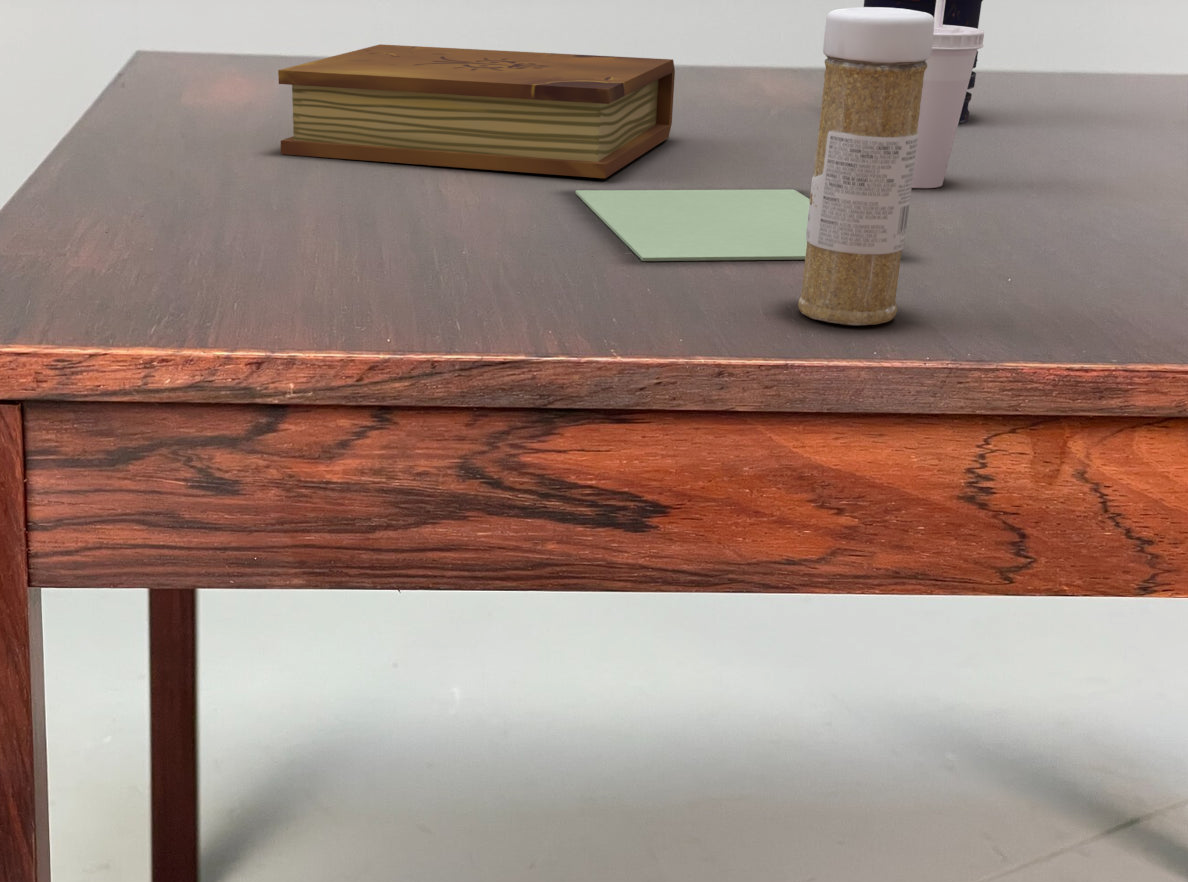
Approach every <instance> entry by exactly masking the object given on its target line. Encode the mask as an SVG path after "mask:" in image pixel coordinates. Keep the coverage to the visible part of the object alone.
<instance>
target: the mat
mask: <svg viewBox="0 0 1188 882" xmlns="http://www.w3.org/2000/svg"><path fill="white" fill-rule="evenodd" d="M575 195H576V196H577V197H578V198H579V199H580V200H581V201H582V202H583V203H584V204H585V205H586V206H587V207H588V208H590V210H591V211H592V212H593V213H594V214H595V215H596V216H597V218H599V219H600V220H601V221H602V222H603V223H604V224H605V225H606V226H607V227H608V228H609V229H610V230H611V231H612V232H613V233H614V234H615V235H616V236H617V237H618V238H619V239H620V240H621V241H622V242H623V243H624V244H625V245H626V246H627V247H628V248H629V249H630V250H631V251H632V252H633V253H634V254H635V256H637V257H638V258H639V259H640V260H641V262H693V261H694V262H695V261H699V262H700V261H705V262H706V261H707V262H708V261H709V262H710V261H797V260H798V261H800V260H801V261H802V260H803V261H805V257H806V248H807V240H806V231H807V222H808V213H809V203H810V197H809V198H808V197H807V196H806V195H804V194H802V193H800V192H799V191H797V190H796V189H599V190H597V189H591V190H590V189H589V190H588V189H585V190H583V189H581V190H579V189H577V190H575Z"/></svg>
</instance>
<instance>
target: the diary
mask: <svg viewBox="0 0 1188 882" xmlns="http://www.w3.org/2000/svg"><path fill="white" fill-rule="evenodd" d="M277 74H278V85H288V86H289V85H290V86H291V95H292V97H291V98H292V125H293V126H292V130H293V133H292V134H293V136H289V137H287V138H284V139H280V154H281V155H286V156H287V155H289V156H302V157H315V158H316V157H317V158H327V159H328V158H329V159H340V160H354V161H356V160H357V161H367V162H369V161H370V162H383V163H397V164H410V165H423V166H435V167H447V168H449V167H450V168H463V169H474V170H487V171H489V170H490V171H501V172H515V173H527V174H528V173H529V174H541V175H542V174H543V175H555V176H569V177H583V178H594V179H595V178H596V179H607V178H608V177H610V176H611V175H613V174H614V173H617V172H618V171H619V170H621V169H623V168H624V167H625V166H627V165H629V164H630V163H632V162H633V161H635V160H636V159H638V158H640V157H641V156H642V155H644V154H646V153H647V152H648V151H650V150H652V149H653V148H654V147H656V146H657V145H659V144H661V143H662V142H664V141H665V140H667V139H669V137H670V133H671V129H672V125H673V112H674V111H673V109H674V96H675V95H674V92H675V78H676V77H675V76H676V75H675V74H676V70H675V62H674V59H671V58H670V59H669V58H653V57H652V58H650V57H636V56H635V57H631V56H616V55H597V54H595V55H594V54H576V53H573V54H572V53H555V52H534V51H518V50H517V51H515V50H497V49H479V48H477V49H476V48H456V47H441V46H440V47H436V46H421V45H420V46H417V45H402V44H401V45H400V44H399V45H398V44H382V43H381V44H376V45H372V46H368V47H364V48H360V49H356V50H352V51H348V52H344V53H340V54H336V55H333V56H328V57H324V58H321V59H320V58H319V59H315V60H313V61H308V62H304V63H301V64H297V65H293V66H288V67H284V68H281V69H278V70H277Z"/></svg>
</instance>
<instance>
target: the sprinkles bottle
mask: <svg viewBox="0 0 1188 882" xmlns="http://www.w3.org/2000/svg"><path fill="white" fill-rule="evenodd" d="M933 34H934V17H933V16H932V15H931V14H929V13H926V12H921V11H914V10H909V9H899V8H885V7H864V6H858V7H857V6H856V7H844V8H838V9H837V8H836V9H833V10H831V11H829V12H828V14H827V16H826V21H825V28H824V37H823V45H822V46H823V47H822V53H823V54H824V56H825V57H826V58H825V59H824V65H825V71H824V75H823V76H824V77H823V79H824V80H823V89H822V97H821V98H822V99H821V103H820V104H821V106H820V107H821V108H820V115H819V124H818V130H817V131H818V134H817V141H816V142H817V143H816V150H815V156H814V167H813V175H812V178H811V185H810V194H809V199H810V203H809V213H808V222H807V231H806V240H807V248H806V257H805V260H804V268H803V276H802V277H803V279H802V285H801V294H800V296H799V297H798V302H797V304H798V305H797V306H798V309H799V311H800V312H801V314H803V315H805V316H806V317H808V318H810V319H812V320H817V321H821V322H825V323H830V324H838V325H843V326H854V327H855V326H856V327H858V326H859V327H860V326H877V325H880V324H884V323H888V322H890V321H892V320H893V319H894V318H895V317H896V315H897V313H898V304H897V302H896V299H897V289H898V284H899V283H898V282H899V281H898V280H899V275H900V266H901V259H902V252H903V251H902V250H904V248H905V243H906V235H907V226H908V220H909V219H908V218H909V211H910V203H911V197H912V196H911V195H912V189H913V188H912V180H913V172H914V164H915V156H916V148H917V141H918V131H917V129H918V121H919V114H920V103H921V96H922V88H923V78H924V72H925V70H926V68H927V63H926V62H925V61H926V60H927V59H929V58H930V57H931V52H932V43H933Z"/></svg>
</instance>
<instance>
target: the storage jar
mask: <svg viewBox="0 0 1188 882" xmlns="http://www.w3.org/2000/svg"><path fill="white" fill-rule="evenodd" d="M983 1H984V0H946V1H945V8H944V16H943V24H942V25H953V26H963V27H971V28H977V29H979V26H980V25H979V24H980V18H981V9H982V5H983V4H982V2H983ZM863 7H885V8H899V9H909V10H914V11H921V12H926V13H929V14H931V15H932V16H933V17H934V15H935V7H936V0H863ZM978 55H979V51H978V50H977V53H976V57H975V61H974V65H973V69H975V68H977V64H978V63H977V62H978V57H979V56H978ZM976 76H977V73H976V72H975V71H973V70H972V73H971V77H970V80H969V84H968V88H967V90H971V89H973V88H975V85H976V84H975V83H976V78H977V77H976ZM972 96H973V94H972V93H971V92H969V91H967V92H966V96H965V100H964V103H963V107H962V111H961V115H960V119H959V123H958V124H963V123H967V122H968V121H969V119H970V117H969V116H970V111H969V103H970V102H971V100H972Z"/></svg>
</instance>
